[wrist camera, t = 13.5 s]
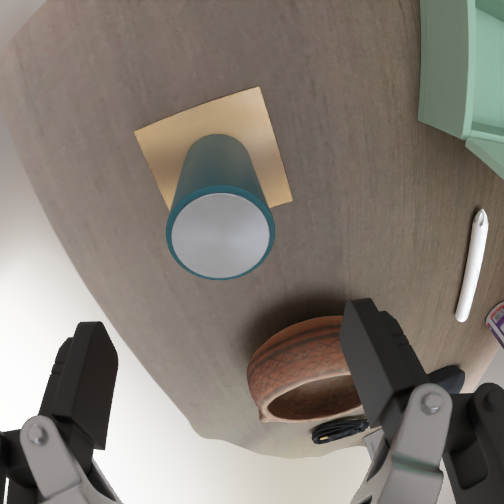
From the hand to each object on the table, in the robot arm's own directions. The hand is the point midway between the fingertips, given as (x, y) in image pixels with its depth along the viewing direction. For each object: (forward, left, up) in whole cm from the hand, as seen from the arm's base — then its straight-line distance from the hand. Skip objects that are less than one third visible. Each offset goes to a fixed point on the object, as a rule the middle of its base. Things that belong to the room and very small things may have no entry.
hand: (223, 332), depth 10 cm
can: (0, 0, -17) cm, 17 cm away
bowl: (+23, +3, -18) cm, 29 cm away
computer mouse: (+51, +15, -18) cm, 56 cm away
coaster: (0, 0, -18) cm, 18 cm away
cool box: (-4, +26, -18) cm, 32 cm away
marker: (+21, +26, -18) cm, 38 cm away
